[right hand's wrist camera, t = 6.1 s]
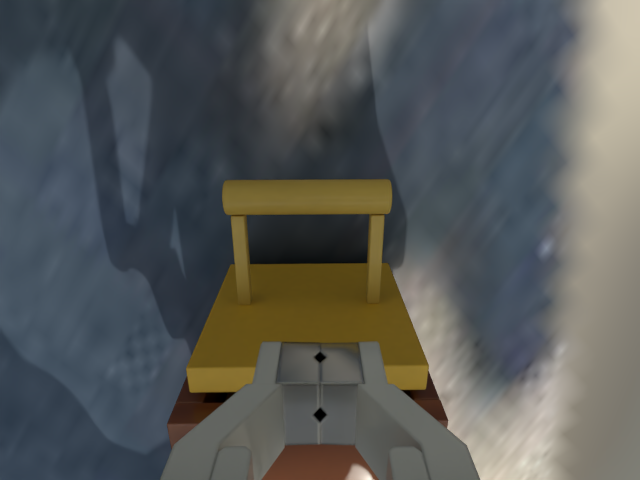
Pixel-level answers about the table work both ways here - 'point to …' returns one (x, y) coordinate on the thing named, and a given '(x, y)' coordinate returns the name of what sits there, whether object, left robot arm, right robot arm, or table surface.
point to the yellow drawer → (305, 290)
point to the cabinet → (296, 460)
